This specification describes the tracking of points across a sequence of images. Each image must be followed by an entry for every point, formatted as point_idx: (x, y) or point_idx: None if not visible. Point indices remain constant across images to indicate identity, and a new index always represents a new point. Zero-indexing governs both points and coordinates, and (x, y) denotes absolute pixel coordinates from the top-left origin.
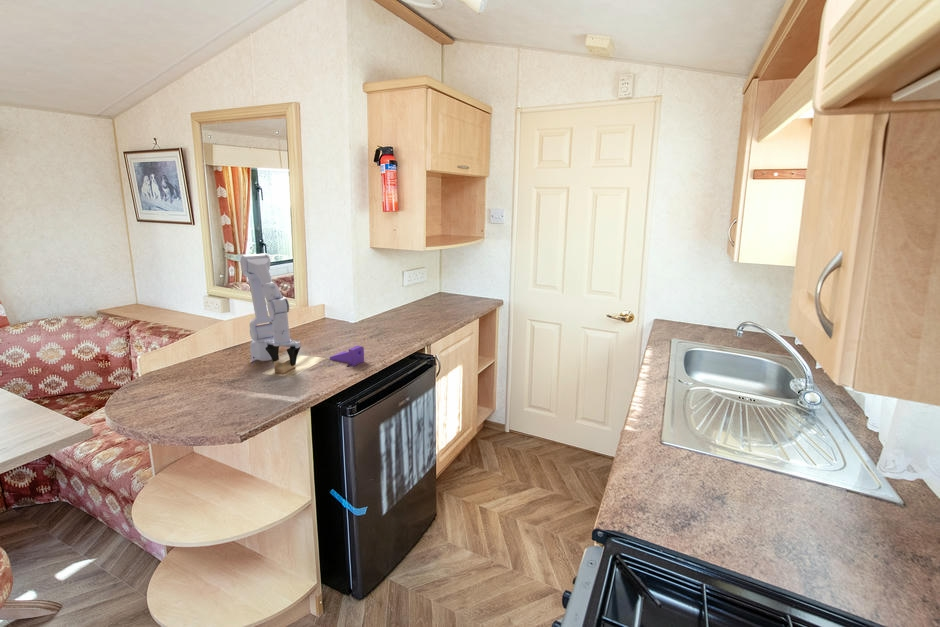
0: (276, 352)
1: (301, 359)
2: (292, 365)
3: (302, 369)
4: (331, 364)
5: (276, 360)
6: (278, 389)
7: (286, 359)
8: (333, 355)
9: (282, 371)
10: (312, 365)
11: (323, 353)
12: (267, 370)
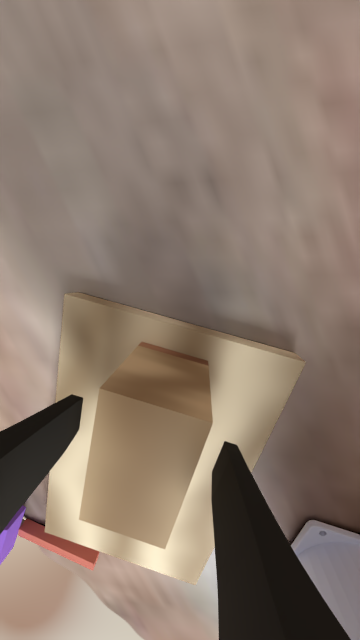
0: (233, 635)
1: None
2: (66, 397)
3: None
4: None
5: (221, 485)
6: (91, 125)
7: (115, 477)
8: (2, 543)
9: (144, 351)
10: None
11: (107, 582)
12: (280, 413)
